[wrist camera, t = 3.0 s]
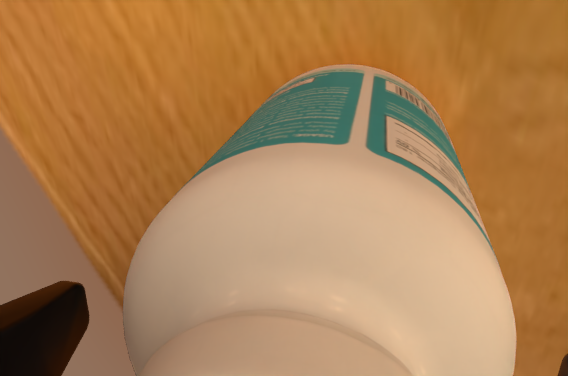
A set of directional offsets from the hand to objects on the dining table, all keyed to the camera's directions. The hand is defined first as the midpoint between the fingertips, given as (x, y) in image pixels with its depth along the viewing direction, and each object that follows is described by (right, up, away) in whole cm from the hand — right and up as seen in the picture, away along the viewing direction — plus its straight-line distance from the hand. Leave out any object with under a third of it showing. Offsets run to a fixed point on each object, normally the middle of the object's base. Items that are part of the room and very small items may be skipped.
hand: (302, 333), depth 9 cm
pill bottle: (+2, +4, +9) cm, 10 cm away
